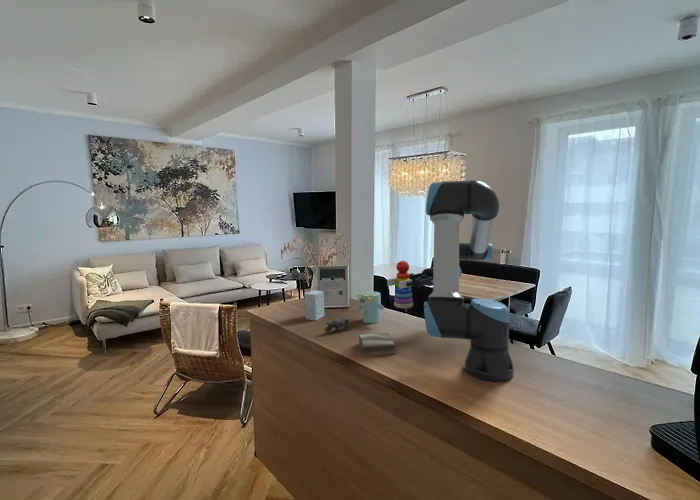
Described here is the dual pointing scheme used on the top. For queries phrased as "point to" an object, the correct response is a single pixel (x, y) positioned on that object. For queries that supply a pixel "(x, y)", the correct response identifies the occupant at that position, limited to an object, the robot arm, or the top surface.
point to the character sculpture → (371, 307)
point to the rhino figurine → (338, 324)
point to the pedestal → (376, 344)
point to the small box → (314, 305)
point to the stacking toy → (404, 294)
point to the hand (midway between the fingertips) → (393, 283)
